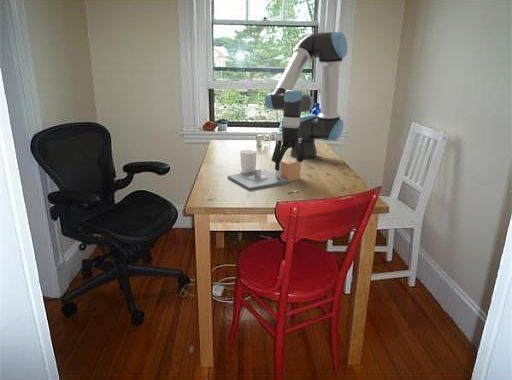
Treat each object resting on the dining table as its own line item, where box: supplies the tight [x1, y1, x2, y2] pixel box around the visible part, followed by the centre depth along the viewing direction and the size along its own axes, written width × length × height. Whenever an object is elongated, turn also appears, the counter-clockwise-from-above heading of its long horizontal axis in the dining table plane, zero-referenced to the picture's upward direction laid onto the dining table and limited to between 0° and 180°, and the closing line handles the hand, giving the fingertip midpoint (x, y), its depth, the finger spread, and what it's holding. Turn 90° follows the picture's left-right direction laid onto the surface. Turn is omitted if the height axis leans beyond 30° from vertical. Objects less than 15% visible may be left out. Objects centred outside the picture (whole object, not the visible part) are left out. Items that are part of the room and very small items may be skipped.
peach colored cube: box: [280, 158, 302, 182], centre depth 164 cm, size 7×7×8 cm
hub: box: [227, 168, 290, 191], centre depth 161 cm, size 20×20×5 cm
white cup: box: [239, 149, 258, 173], centre depth 174 cm, size 8×8×10 cm
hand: (287, 176), depth 164 cm, fingers open, 9 cm apart
